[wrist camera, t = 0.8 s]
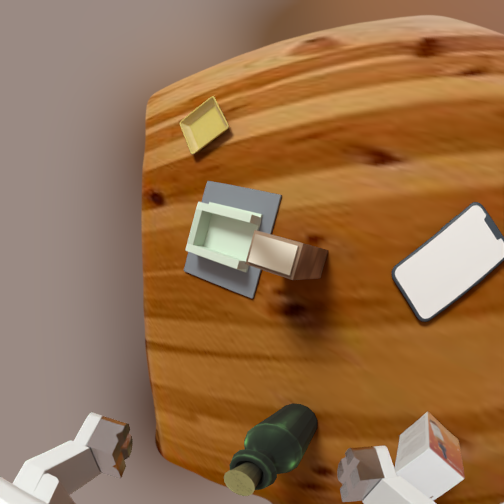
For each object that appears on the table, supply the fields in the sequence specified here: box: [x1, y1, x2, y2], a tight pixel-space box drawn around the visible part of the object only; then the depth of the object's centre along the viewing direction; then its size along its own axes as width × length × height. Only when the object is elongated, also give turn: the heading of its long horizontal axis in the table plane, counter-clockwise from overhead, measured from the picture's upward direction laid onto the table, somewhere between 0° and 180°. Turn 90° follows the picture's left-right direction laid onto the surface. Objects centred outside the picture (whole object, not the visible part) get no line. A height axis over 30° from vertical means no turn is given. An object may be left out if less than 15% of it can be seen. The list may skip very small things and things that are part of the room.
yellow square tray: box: [180, 96, 229, 154], centre depth 53 cm, size 9×9×2 cm
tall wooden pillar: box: [245, 230, 328, 280], centre depth 39 cm, size 4×6×11 cm, turn 73°
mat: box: [184, 181, 282, 299], centre depth 50 cm, size 16×14×1 cm
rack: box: [186, 202, 263, 272], centre depth 48 cm, size 9×10×3 cm
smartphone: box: [392, 202, 504, 322], centre depth 34 cm, size 9×2×16 cm
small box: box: [394, 412, 465, 501], centre depth 28 cm, size 8×6×10 cm
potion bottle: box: [224, 404, 317, 496], centre depth 34 cm, size 8×8×18 cm
